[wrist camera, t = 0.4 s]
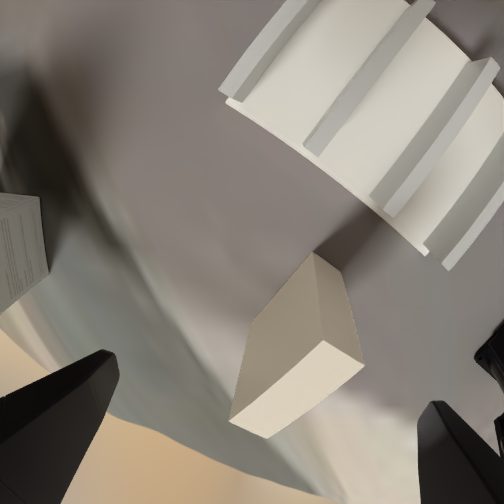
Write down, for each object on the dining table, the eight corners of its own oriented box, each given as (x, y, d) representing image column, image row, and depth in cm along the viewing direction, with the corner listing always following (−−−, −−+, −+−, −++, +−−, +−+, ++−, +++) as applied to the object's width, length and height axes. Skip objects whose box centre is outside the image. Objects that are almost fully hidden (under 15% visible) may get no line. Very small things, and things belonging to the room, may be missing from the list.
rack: (513, 121, 14) (548, 125, 11) (419, 250, 19) (443, 277, 15) (339, -34, 13) (348, -64, 9) (228, 104, 17) (211, 98, 13)
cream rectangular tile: (340, 271, 20) (365, 365, 12) (277, 339, 23) (266, 438, 15) (312, 251, 20) (322, 339, 12) (250, 323, 23) (228, 421, 14)
